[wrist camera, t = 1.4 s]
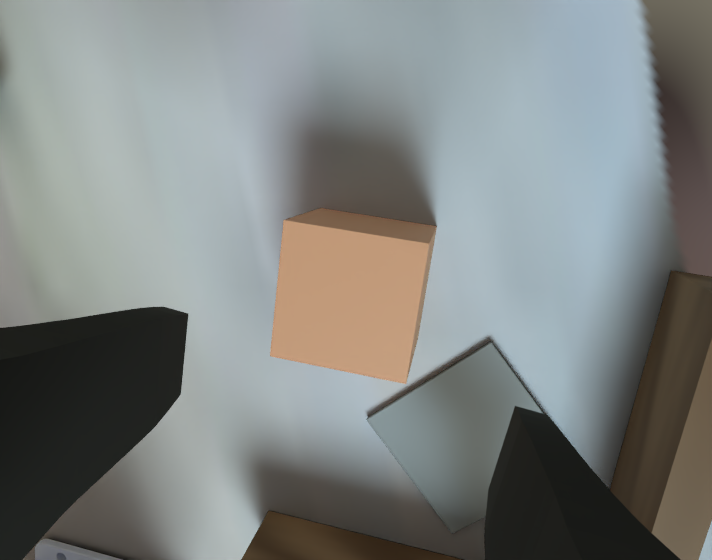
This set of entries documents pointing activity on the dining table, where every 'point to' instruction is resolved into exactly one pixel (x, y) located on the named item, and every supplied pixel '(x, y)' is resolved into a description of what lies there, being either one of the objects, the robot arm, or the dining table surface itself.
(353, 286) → the cube
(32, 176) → the dining table surface
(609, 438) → the dining table surface
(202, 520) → the dining table surface
